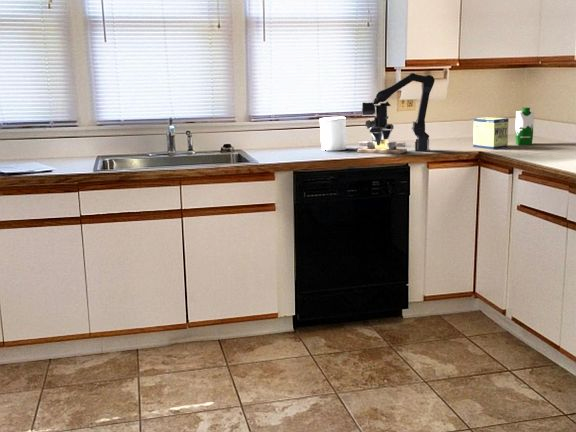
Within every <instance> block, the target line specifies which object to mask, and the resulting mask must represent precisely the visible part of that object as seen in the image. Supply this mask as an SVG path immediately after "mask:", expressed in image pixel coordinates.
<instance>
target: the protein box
mask: <svg viewBox="0 0 576 432" xmlns="http://www.w3.org/2000/svg"><path fill="white" fill-rule="evenodd" d="M472 139H473V140H472V141H473V143H472V147H473V148H480V149H487V150H500V149H506V148H508V145H509V118H507V117H506V118H505V117H491V116H488V117H487V116H486V117H485V116H484V117H475V118H473V138H472Z"/></svg>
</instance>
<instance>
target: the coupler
mask: <svg viewBox="0 0 576 432" xmlns="http://www.w3.org/2000/svg"><path fill="white" fill-rule="evenodd" d="M387 143H388V139H381V142H380V145H379V146H378V145H377V143H376V147H375V148H376V149H388V148H389V147H387Z"/></svg>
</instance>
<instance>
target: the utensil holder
mask: <svg viewBox="0 0 576 432" xmlns="http://www.w3.org/2000/svg"><path fill="white" fill-rule="evenodd" d="M346 120H347V117H345V116H331V117H321V118H319V126H320V127H319V128H320V129H319V131H320V144H321V151H325V150H326V151H325V152H327V151H328V152H329V151H330V152H331V151H344V150H346V149H347V127H346V126H347V125H346V124H347V122H346Z"/></svg>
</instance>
